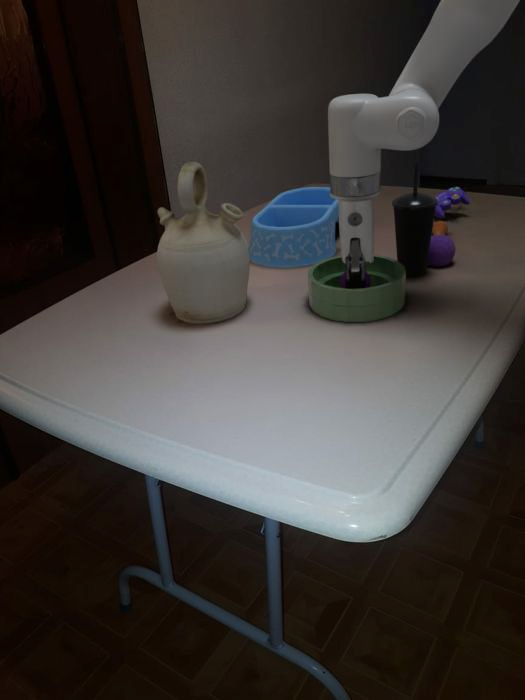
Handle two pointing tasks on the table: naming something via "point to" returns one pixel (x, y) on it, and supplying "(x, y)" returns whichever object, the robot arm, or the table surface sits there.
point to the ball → (344, 276)
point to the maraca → (440, 246)
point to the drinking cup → (414, 228)
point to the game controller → (450, 201)
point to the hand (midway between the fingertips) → (355, 293)
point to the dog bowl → (295, 229)
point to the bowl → (357, 290)
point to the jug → (202, 254)
